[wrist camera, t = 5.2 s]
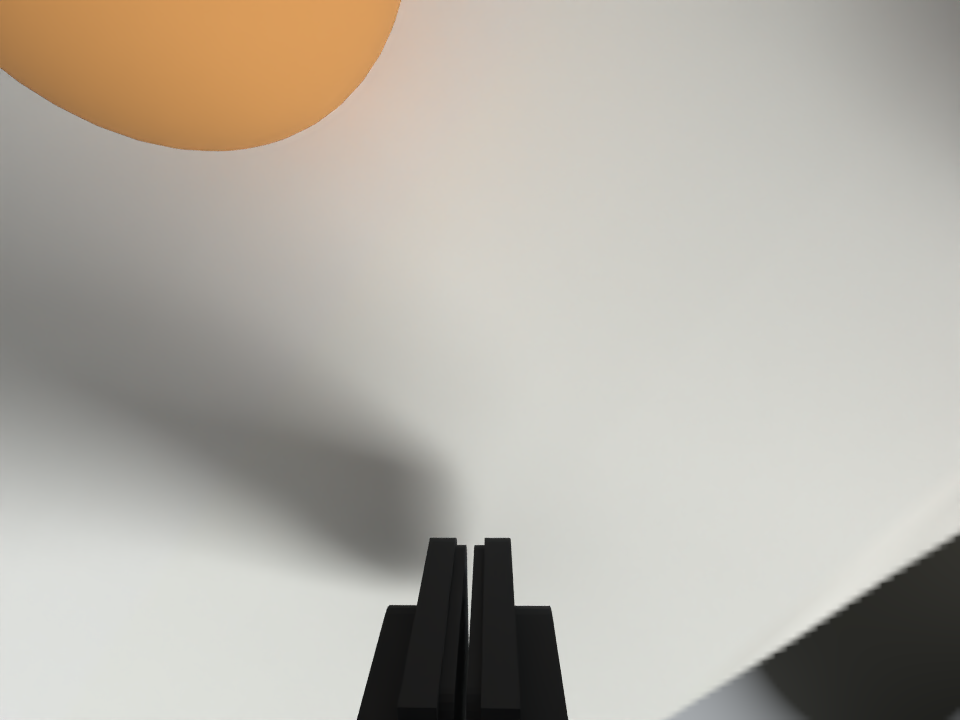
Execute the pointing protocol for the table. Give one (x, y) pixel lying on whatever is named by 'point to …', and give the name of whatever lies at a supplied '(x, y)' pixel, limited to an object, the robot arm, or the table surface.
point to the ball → (195, 63)
